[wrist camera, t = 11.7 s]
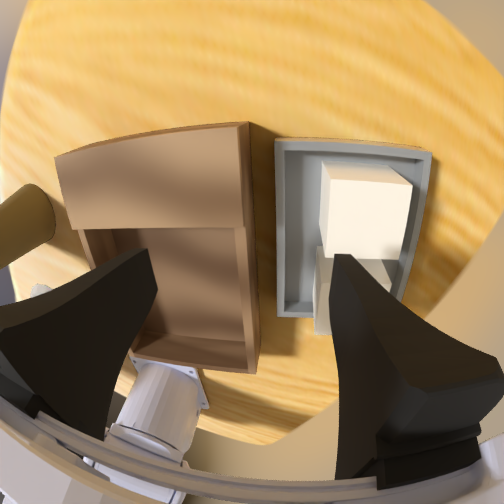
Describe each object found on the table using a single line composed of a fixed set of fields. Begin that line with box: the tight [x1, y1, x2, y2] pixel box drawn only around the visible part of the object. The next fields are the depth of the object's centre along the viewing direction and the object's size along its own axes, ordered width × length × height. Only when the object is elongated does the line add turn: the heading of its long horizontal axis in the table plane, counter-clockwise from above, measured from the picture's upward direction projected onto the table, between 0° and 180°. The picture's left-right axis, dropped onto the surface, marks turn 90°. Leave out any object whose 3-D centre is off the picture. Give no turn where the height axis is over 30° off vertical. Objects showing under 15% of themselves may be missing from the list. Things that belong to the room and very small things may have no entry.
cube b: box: [319, 161, 413, 260], centre depth 14 cm, size 4×4×4 cm
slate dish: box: [274, 137, 432, 318], centre depth 17 cm, size 12×9×2 cm
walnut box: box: [54, 121, 261, 374], centre depth 19 cm, size 18×12×4 cm, turn 3°
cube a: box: [313, 246, 392, 335], centre depth 17 cm, size 4×4×4 cm
